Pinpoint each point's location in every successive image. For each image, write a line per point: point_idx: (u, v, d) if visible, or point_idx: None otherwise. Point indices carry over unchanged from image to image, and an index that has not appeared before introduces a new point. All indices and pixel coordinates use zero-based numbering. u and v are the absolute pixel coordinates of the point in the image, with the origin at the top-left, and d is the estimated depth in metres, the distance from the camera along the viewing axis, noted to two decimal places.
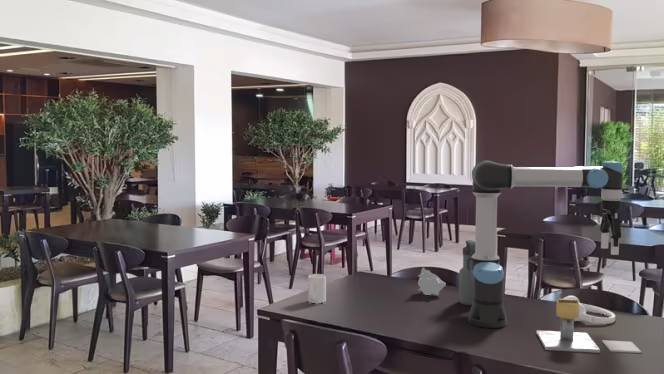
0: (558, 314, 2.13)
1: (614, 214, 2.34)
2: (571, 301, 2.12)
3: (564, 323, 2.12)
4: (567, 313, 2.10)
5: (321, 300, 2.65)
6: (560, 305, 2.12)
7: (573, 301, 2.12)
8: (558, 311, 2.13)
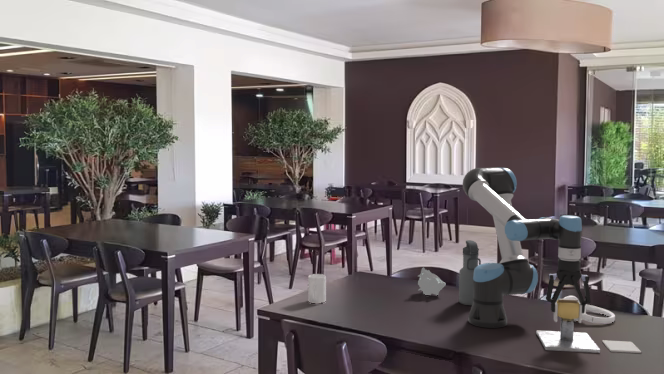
0: (558, 314, 2.13)
1: (548, 275, 2.14)
2: (571, 301, 2.12)
3: (564, 323, 2.12)
4: (567, 313, 2.10)
5: (321, 300, 2.65)
6: (560, 305, 2.12)
7: (573, 301, 2.12)
8: (558, 311, 2.13)
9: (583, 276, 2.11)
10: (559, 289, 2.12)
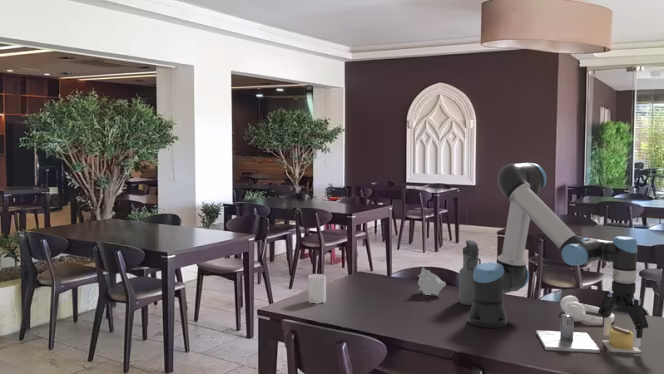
0: None
1: None
2: (622, 331, 2.08)
3: (564, 323, 2.12)
4: (611, 341, 2.09)
5: (321, 300, 2.65)
6: None
7: (624, 332, 2.07)
8: None
9: (634, 300, 2.03)
10: (610, 306, 2.12)
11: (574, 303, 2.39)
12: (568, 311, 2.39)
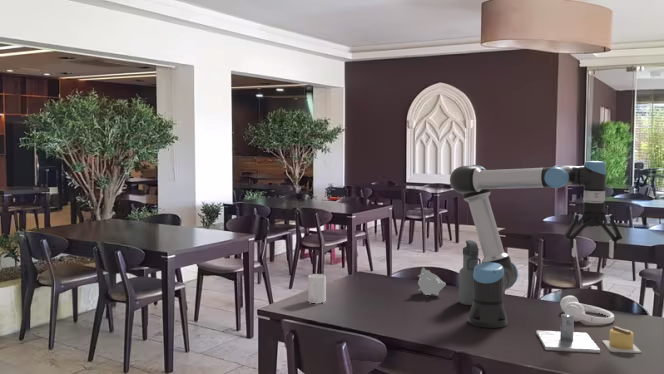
0: None
1: (574, 215, 2.26)
2: (622, 331, 2.08)
3: (564, 323, 2.12)
4: (611, 340, 2.09)
5: (321, 300, 2.65)
6: None
7: (624, 332, 2.07)
8: None
9: (607, 216, 2.24)
10: (581, 228, 2.25)
11: (574, 303, 2.39)
12: (568, 311, 2.39)
